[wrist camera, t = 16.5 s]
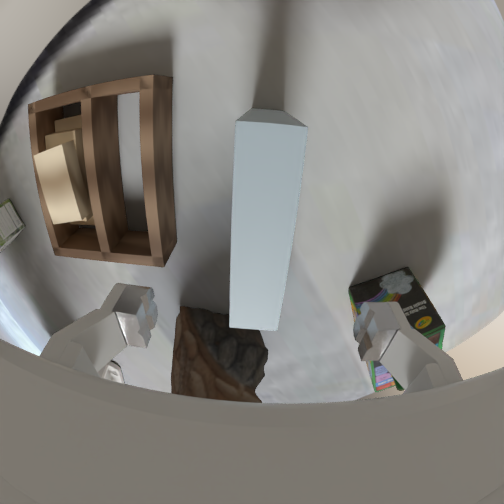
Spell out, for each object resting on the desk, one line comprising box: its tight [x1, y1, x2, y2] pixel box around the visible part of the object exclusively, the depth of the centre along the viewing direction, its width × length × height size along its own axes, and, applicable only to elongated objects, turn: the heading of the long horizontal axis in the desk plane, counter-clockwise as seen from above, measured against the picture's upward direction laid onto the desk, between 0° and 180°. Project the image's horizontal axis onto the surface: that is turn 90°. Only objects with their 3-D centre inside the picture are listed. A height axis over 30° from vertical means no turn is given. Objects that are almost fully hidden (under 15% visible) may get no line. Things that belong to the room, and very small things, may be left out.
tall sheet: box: [229, 108, 308, 331], centre depth 20 cm, size 12×3×15 cm, turn 177°
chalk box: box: [349, 267, 445, 392], centre depth 29 cm, size 9×9×15 cm
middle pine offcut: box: [45, 128, 93, 221], centre depth 24 cm, size 10×5×2 cm, turn 176°
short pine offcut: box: [34, 140, 92, 224], centre depth 22 cm, size 8×5×2 cm, turn 4°
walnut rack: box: [28, 75, 177, 267], centre depth 24 cm, size 18×15×5 cm
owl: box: [171, 306, 268, 403], centre depth 32 cm, size 13×13×20 cm
